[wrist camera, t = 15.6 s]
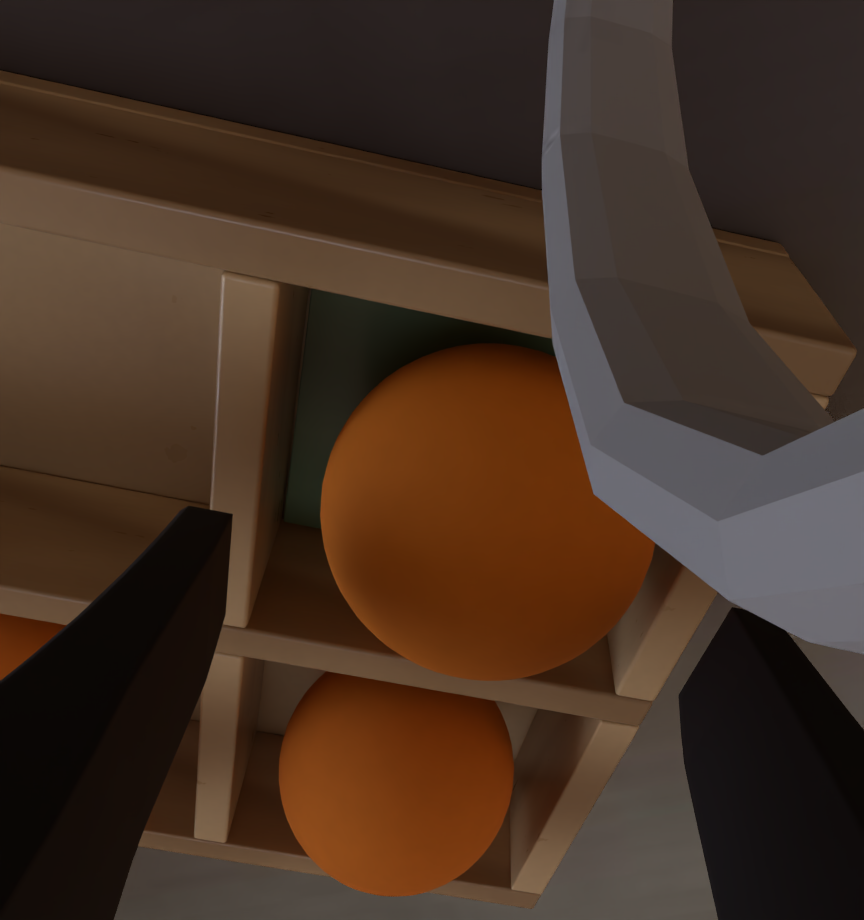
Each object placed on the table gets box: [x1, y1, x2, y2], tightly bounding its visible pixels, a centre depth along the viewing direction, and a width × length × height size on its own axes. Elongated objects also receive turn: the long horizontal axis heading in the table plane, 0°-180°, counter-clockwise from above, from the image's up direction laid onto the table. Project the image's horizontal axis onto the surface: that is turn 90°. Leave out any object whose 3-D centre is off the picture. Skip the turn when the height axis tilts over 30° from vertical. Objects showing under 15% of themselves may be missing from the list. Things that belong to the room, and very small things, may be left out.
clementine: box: [320, 343, 655, 681], centre depth 13 cm, size 5×5×5 cm
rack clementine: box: [279, 671, 514, 896], centre depth 18 cm, size 5×5×5 cm
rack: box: [0, 70, 857, 909], centre depth 17 cm, size 16×16×4 cm
